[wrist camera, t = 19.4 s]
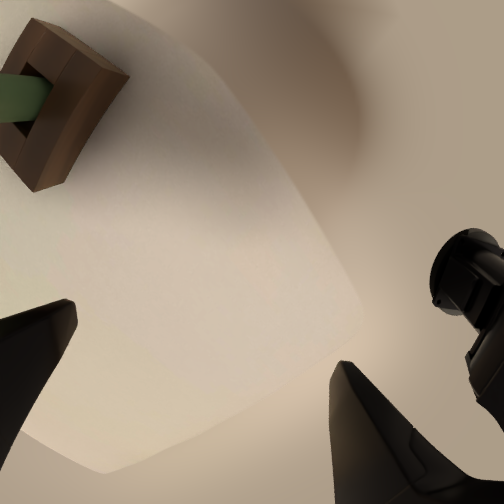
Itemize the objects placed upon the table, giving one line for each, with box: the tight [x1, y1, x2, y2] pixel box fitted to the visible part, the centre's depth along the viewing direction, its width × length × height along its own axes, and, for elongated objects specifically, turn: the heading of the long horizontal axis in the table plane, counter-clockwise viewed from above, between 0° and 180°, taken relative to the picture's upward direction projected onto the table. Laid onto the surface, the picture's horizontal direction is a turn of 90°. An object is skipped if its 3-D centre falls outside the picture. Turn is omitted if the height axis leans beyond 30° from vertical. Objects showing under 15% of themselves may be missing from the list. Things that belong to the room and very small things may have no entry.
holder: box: [0, 18, 130, 193], centre depth 16 cm, size 10×10×4 cm
